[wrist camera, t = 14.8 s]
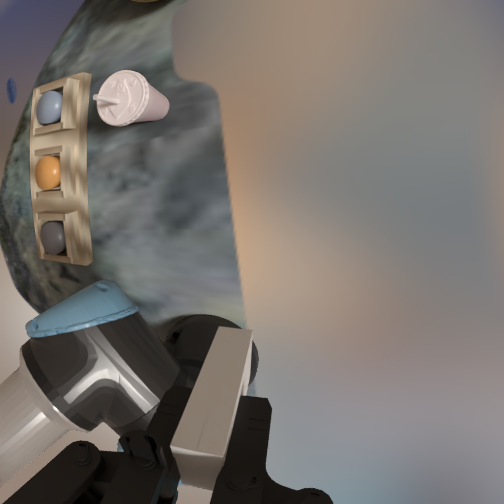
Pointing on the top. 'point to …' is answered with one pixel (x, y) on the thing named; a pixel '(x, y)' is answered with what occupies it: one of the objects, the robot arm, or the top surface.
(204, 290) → the top surface
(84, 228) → the button panel
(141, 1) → the cantaloupe
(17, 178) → the top surface
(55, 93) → the blue button
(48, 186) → the orange button
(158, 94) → the smoothie
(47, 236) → the charcoal button
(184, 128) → the top surface
